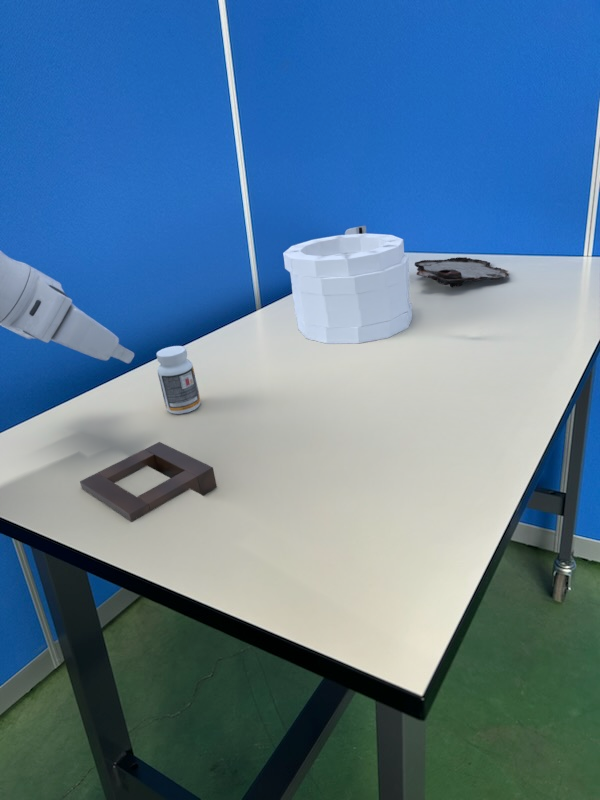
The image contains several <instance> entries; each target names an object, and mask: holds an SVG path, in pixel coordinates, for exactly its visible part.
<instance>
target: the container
mask: <svg viewBox="0 0 600 800" xmlns="http://www.w3.org/2000/svg"><path fill="white" fill-rule="evenodd" d="M404 241H405V240H404V238H401V237H398V236H395V235H393V234H384V233H383V234H382V233H367V232H366V234H351V235H345V234H338V235H331V236H326V237H320V238H314V239H310V240H307V241H303V242H300V243H296V244H293V245H291V246H290V247H288V249H286V250H285V251H284V252H283V253H282V254H283V261H284V263H283V264H284V269H285V270H286V271H287V272H289V275H290V282H291V292H292V300H293V307H294V316H295V317H296V324H297V330H298V331H299V333H301V334H302V336H303V337H304V338H305V339H306V340H311V341H315V342H319V343H323V344H327V345H347V344H354V345H355V344H357V345H358V344H364V343H368V342H374V341H378V340H384V339H388V338H391V337H392V336H393V337H394V336H395V335H397V334H399V333H402V332H403V331H405V330H407V329H409V327H410V325H411V322H412V319H413V310H412V309H413V308H412V302H410V301H411V300H410V278H409V277H410V276H409V275H410V262H409V255H406V254H405V246H404V245H405V243H404Z"/></svg>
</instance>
